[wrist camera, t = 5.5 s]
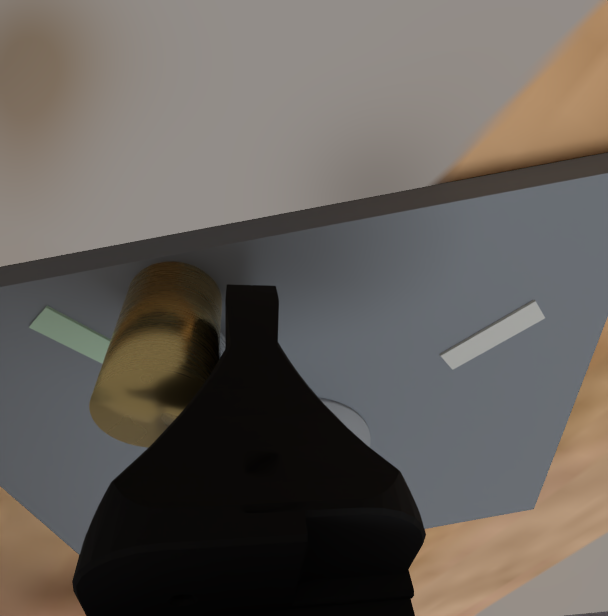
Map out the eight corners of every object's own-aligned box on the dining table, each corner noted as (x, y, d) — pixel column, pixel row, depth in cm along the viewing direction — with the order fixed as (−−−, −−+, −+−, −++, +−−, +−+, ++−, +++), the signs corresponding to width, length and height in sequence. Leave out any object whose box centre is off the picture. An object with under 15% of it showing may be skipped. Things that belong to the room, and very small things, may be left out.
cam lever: (369, 466, 19) (394, 564, 16) (265, 499, 20) (269, 599, 17) (233, 230, 11) (229, 332, 8) (71, 298, 12) (12, 415, 9)
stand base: (522, 488, 26) (535, 512, 24) (118, 562, 26) (113, 589, 25) (636, 147, 13) (672, 164, 12) (-158, 296, 13) (-194, 327, 12)
